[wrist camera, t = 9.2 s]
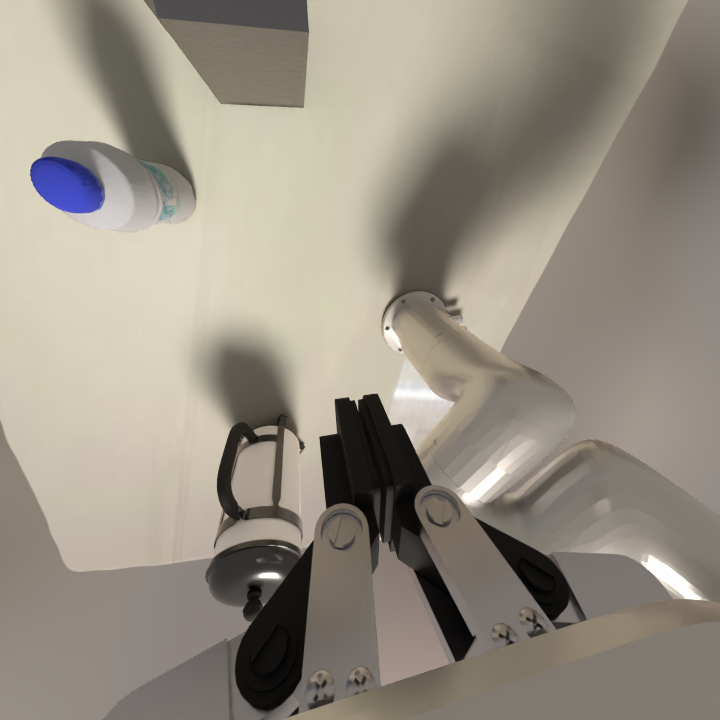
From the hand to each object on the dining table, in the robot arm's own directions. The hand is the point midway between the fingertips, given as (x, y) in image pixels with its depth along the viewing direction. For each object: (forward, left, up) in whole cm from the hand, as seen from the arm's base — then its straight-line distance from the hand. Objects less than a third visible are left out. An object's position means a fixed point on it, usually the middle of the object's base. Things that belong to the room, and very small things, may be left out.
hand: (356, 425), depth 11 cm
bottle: (+17, -9, -37) cm, 42 cm away
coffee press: (+13, +35, -37) cm, 53 cm away
